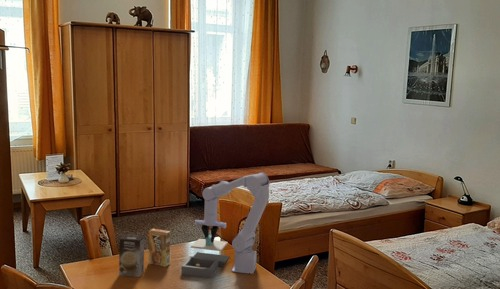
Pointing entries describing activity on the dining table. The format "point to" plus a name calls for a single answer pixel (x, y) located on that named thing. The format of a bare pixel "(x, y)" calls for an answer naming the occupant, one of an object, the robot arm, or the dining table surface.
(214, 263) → the tub
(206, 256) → the mat
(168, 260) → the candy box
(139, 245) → the coffee box
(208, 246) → the lid
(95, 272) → the dining table surface
